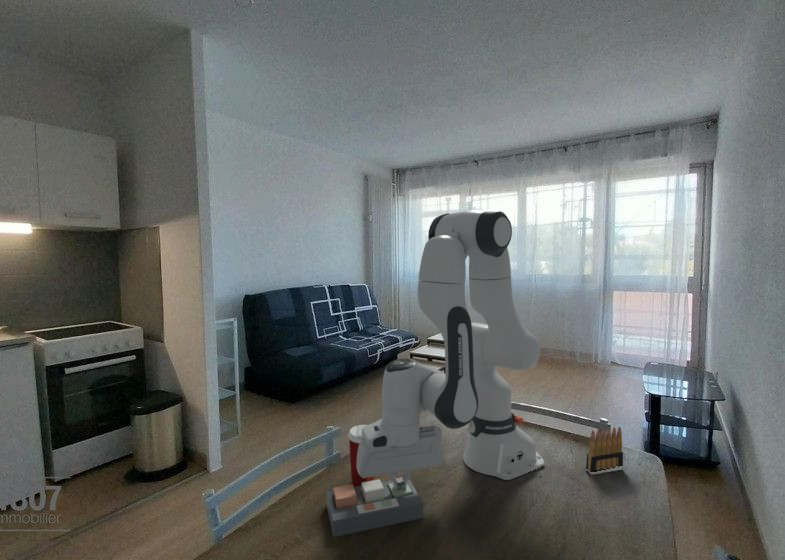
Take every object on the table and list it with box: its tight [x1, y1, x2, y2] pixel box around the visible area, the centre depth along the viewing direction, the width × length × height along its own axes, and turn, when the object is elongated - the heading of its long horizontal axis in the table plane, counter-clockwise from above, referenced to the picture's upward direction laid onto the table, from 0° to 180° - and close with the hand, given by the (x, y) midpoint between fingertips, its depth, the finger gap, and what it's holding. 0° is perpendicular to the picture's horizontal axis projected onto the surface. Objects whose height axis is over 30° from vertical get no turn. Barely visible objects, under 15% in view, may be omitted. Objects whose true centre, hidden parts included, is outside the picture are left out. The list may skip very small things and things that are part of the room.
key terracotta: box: [332, 483, 357, 509], centre depth 85 cm, size 4×4×2 cm
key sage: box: [388, 483, 412, 498], centre depth 89 cm, size 4×4×2 cm
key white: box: [361, 479, 385, 503], centre depth 87 cm, size 4×4×2 cm
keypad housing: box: [326, 478, 425, 538], centre depth 86 cm, size 20×10×4 cm, turn 108°
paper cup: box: [347, 424, 376, 487], centre depth 96 cm, size 8×8×14 cm
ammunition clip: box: [585, 426, 624, 472], centre depth 103 cm, size 11×2×12 cm, turn 105°
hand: (399, 487), depth 89 cm, fingers closed
